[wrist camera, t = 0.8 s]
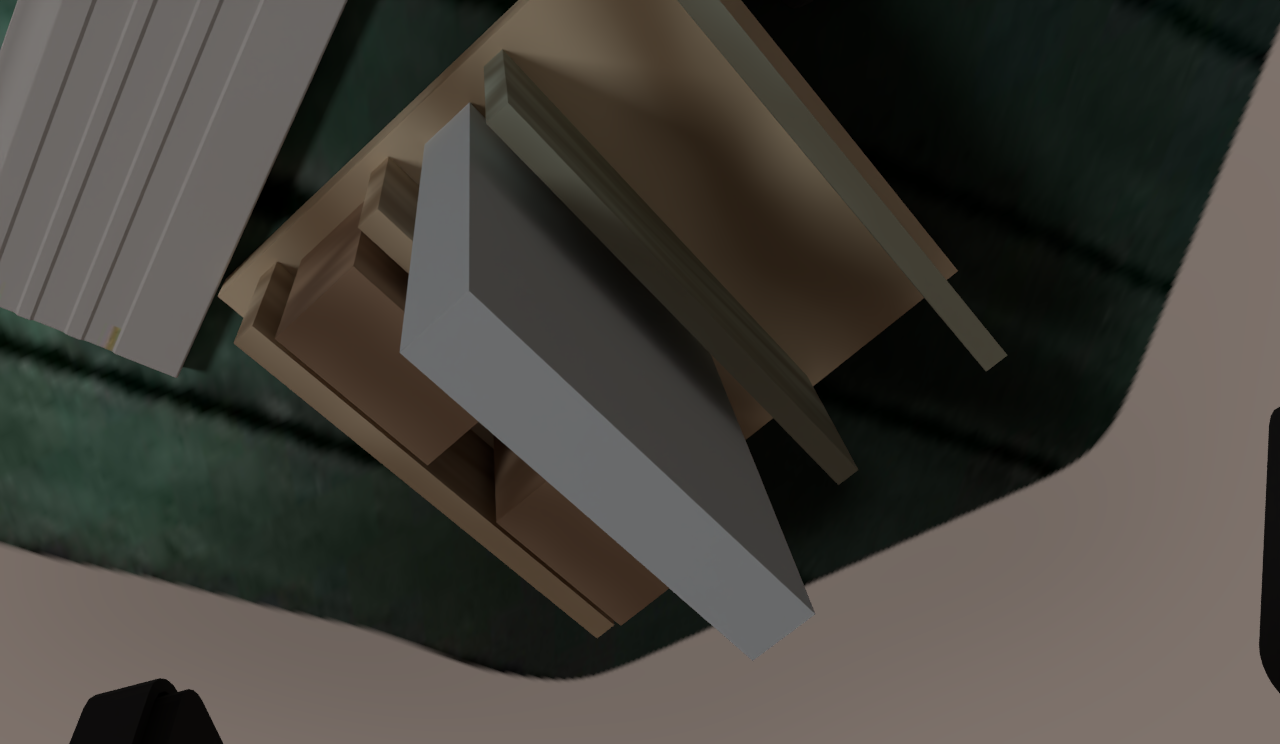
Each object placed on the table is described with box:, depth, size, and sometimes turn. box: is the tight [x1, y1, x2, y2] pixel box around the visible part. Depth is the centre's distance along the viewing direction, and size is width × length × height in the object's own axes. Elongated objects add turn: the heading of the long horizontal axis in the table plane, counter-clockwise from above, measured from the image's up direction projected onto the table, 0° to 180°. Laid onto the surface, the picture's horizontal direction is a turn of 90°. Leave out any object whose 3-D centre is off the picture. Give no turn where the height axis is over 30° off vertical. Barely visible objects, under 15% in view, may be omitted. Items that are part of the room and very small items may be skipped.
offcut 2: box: [493, 435, 669, 625], centre depth 41 cm, size 3×6×6 cm, turn 41°
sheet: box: [400, 102, 815, 660], centre depth 33 cm, size 2×12×15 cm, turn 41°
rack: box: [218, 0, 1007, 638], centre depth 39 cm, size 19×17×8 cm
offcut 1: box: [275, 202, 479, 465], centre depth 37 cm, size 3×6×6 cm, turn 41°
